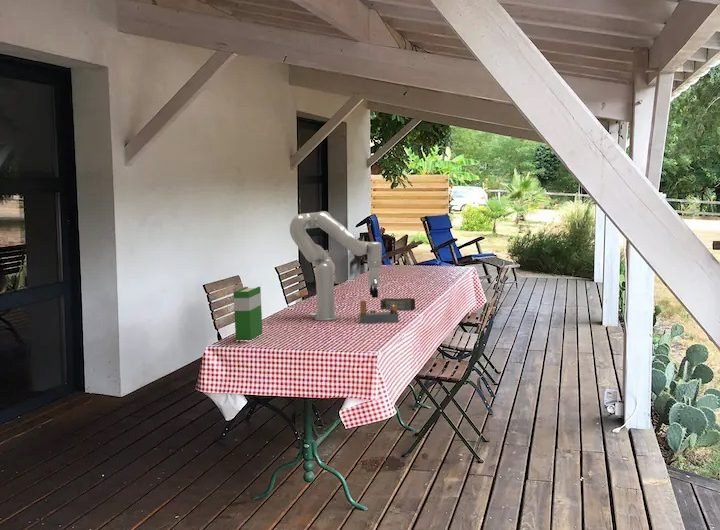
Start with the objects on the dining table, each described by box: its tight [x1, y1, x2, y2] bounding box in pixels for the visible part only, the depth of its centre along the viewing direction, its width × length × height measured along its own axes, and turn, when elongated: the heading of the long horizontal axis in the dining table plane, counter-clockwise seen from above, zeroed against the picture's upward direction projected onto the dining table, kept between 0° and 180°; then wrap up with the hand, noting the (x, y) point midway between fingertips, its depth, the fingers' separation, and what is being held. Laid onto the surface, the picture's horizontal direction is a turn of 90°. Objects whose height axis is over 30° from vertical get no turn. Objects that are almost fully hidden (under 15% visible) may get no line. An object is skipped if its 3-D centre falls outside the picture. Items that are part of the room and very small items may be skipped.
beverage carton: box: [380, 297, 416, 311], centre depth 416 cm, size 8×19×7 cm, turn 70°
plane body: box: [358, 300, 400, 324], centre depth 377 cm, size 20×7×12 cm, turn 95°
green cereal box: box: [233, 286, 264, 341], centre depth 344 cm, size 18×7×24 cm, turn 170°
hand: (373, 296), depth 387 cm, fingers open, 9 cm apart
